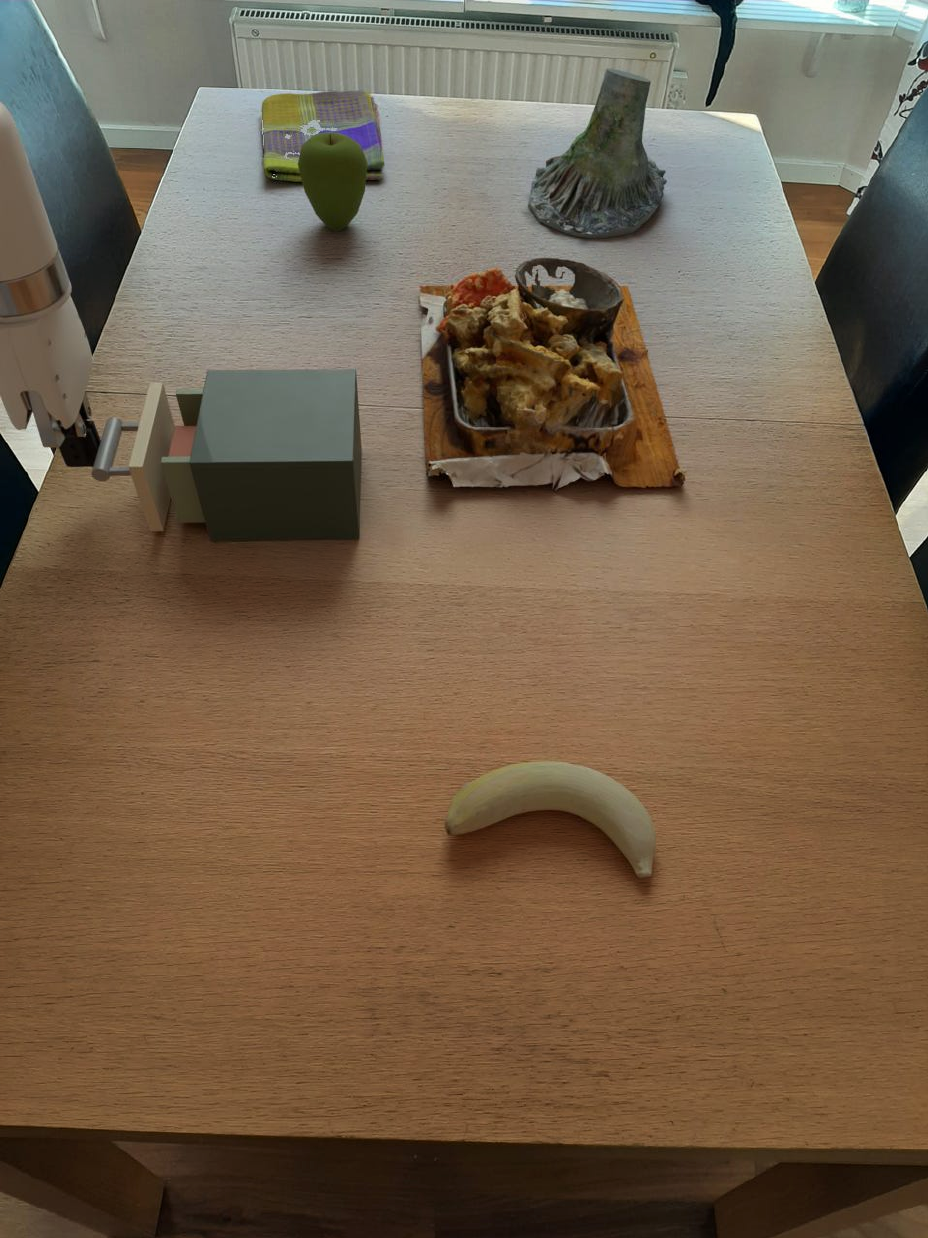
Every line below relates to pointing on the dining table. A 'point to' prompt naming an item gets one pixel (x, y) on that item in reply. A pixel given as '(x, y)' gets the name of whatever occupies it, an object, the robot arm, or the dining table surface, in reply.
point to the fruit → (557, 804)
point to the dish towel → (333, 109)
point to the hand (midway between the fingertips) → (86, 460)
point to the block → (182, 441)
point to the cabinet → (279, 455)
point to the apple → (333, 177)
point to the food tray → (540, 383)
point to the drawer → (155, 457)
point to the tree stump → (603, 168)
